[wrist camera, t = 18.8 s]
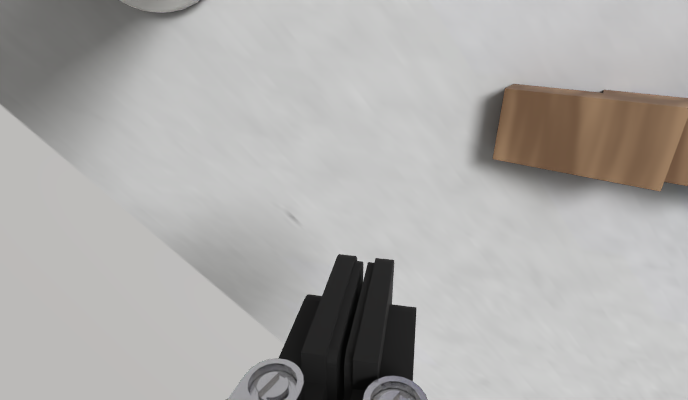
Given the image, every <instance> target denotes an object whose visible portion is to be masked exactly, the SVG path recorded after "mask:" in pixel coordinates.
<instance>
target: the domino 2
mask: <svg viewBox="0 0 688 400" xmlns="http://www.w3.org/2000/svg"><path fill="white" fill-rule="evenodd" d="M603 93H609V94H619V95H629V96H639V97H649V98H659V99H669V100H679V101H688V98H680V97H670V96H660V95H650V94H640V93H630V92H620V91H611V90H604V91H603ZM664 182H668V183H673V184H679V185H685V186H688V118H687V121H686V124H685V126H684V129H683V132H682V135H681V137H680V140H679V143H678V145H677V148H676V151H675V154H674V156H673V159H672V162H671V164H670V167H669V170H668V173H667V175H666V178H665V181H664Z"/></svg>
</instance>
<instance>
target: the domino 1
mask: <svg viewBox="0 0 688 400" xmlns="http://www.w3.org/2000/svg"><path fill="white" fill-rule="evenodd" d="M687 118H688V101H679V100H669V99H659V98H649V97H639V96H629V95H619V94H609V93H599V92H589V91H579V90H569V89H559V88H549V87H539V86H529V85H519V84H513V85H511V86H509V87H507V88H505V91H504V97H503V103H502V108H501V114H500V120H499V125H498V131H497V137H496V142H495V148H494V154H493V159H495V160H500V161H505V162H511V163H516V164H521V165H526V166H531V167H537V168H542V169H547V170H552V171H557V172H562V173H568V174H573V175H578V176H583V177H588V178H594V179H599V180H604V181H609V182H614V183H620V184H625V185H630V186H635V187H640V188H646V189H651V190H656V191H661V189H662V186H663V183H664V181H665V178H666V175H667V173H668V170H669V167H670V164H671V162H672V159H673V156H674V154H675V151H676V148H677V145H678V143H679V140H680V137H681V135H682V132H683V129H684V126H685V124H686V121H687Z"/></svg>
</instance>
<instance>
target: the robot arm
mask: <svg viewBox="0 0 688 400" xmlns="http://www.w3.org/2000/svg"><path fill="white" fill-rule="evenodd" d="M119 1H121V2H123V3H125V4H126V5H128V6H130V7H133V8H136V9H139V10H142V11H148V12H157V13H163V12H174V11H178V10H182V9H186V8H188V7H189V6H191V5H193V4H195V3H197V2H198V1H200V0H119ZM393 273H394V260H389V259H379V258H376V259H375V263H370V262H368V265H367V269H366V273H365V277H364V281H363V262H361V261H357V257H356V256H349V255H340V254H339V255H338V256H337V259H336V261H335V264H334V266H333V269H332V272H331V274H330V277H329V280H328V282H327V285H326V287H325V290H324V293H323V295H322V296H316V295H307V296H306V297H305V299H304V301H303V304H302V306H301V308H300V311H299V313H298V315H297V317H296V320H295V322H294V324H293V327H292V329H291V331H290V333H289V336H288V338H287V340H286V343H285V345H284V347H283V349H282V352H281V354H280V356H279V358H278V359H268V360H265V361H262V362H259V363H258V364H257V365H255V366H253V367H252V368H251V369H250V370H249V371H248V372H247V373H246V374H245V375H244V377H243V378H242V380H241V381H240V382H239V384H238V385H237V387H236V388H235V390H234V391H233V393H232V394H231V395H230V397H229V398H228V399H227V400H427V397H426V394H425V393H424V392H423V390H422V389H421V388H420V387H419V386H418V385H417V384H415V383H414V382H413V363H414V344H415V324H416V307H407V306H399V305H392V290H393Z"/></svg>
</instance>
